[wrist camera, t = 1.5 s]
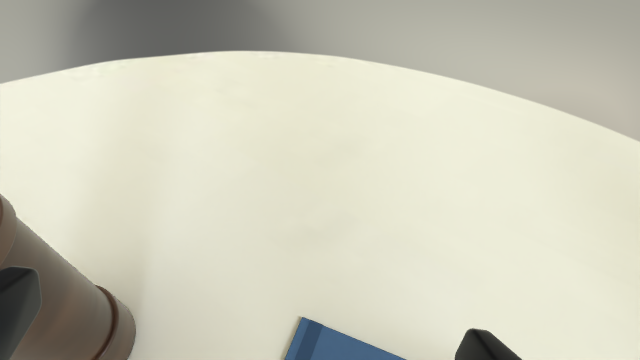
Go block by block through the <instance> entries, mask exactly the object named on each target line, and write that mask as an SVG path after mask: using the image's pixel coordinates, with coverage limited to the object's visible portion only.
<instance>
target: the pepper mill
mask: <svg viewBox="0 0 640 360" xmlns="http://www.w3.org/2000/svg"><path fill="white" fill-rule="evenodd" d="M10 266H21V267H28V268H34V269H36V270H37V272H38V274H39V280H40V288H41V296H42V304H41V308H40V311H39V313H38V315H37V316H36V318H35V320H34V321H33V323H32V324H31V326H30V328H29V329H28V331H27V332H26V334H25V336H24V337H23V339H22V341H21V342H20V344H19V345H18V347H17V349H16V350H15V352H14V353H13V355H12V357H11V358H10V360H127V358H128V356H129V354H130V352H131V350H132V347H133V344H134V340H135V322H134V319H133V316H132V314H131V313H130V311H129V310H128V309H127V308H126V307H125V306H124V305H123V304H122V303H121V302H120V301H119V300H117V299H116V298H115V297H114V296H113V295H112V294H111V293H110V292H108V291H107V290H106V289H104V288H102V287H100V286H97V285H94V284H93V283H92V282H90V281H89V280H88V279H87V278H86V277H85V276H84V275H82V274H81V273H80V272H79V271H78V270H77V269H76V268H74V267H73V266H72V265H71V264H70V263H69V262H68V261H66V260H65V259H64V258H63V257H62V256H61V255H60V254H58V253H57V252H56V251H55V250H54V249H53V248H52V247H50V246H49V245H48V244H47V243H46V242H45V241H44V240H42V239H41V238H40V237H39V236H38V235H37V234H35V233H34V232H33V231H32V230H31V229H30V228H29V227H27V226H26V225H25V224H24V223H23V222H22V221H21V220H19V219H18V218H17V217H16V213H15V210H14V208H13V206H12V205H11V204H10V202H9V201H8V200H7V199H6V198H5V197H3V196H2V195H1V194H0V270H2V269H5V268H7V267H10Z"/></svg>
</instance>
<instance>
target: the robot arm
mask: <svg viewBox="0 0 640 360" xmlns="http://www.w3.org/2000/svg"><path fill="white" fill-rule="evenodd" d="M41 304H42V296H41V288H40V280H39V274H38V272H37V270H36V269H34V268H28V267H21V266H10V267H7V268H5V269H2V270H0V360H10V358H11V357H12V355H13V353H14V352H15V350H16V349H17V347H18V345H19V344H20V342H21V341H22V339H23V337H24V336H25V334H26V332H27V331H28V329H29V328H30V326H31V324H32V323H33V321H34V320H35V318H36V316H37V315H38V313H39V311H40V308H41ZM455 360H522V359H521V358H520V357H518V356H517V355H516V354H515V353H514V352H513V351H511V350H510V349H509V348H508V347H507V346H506V345H504V344H503V343H502V342H501V341H500V340H499V339H497V338H496V337H495V336H494V335H493V334H492V333H490V332H489V331H486V330H481V329H473V328H472V329H469V330H468V331H467V332H466V334H465V336H464V338H463V340H462V342H461V344H460V346H459V348H458V350H457V352H456V355H455Z"/></svg>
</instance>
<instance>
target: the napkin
mask: <svg viewBox="0 0 640 360" xmlns="http://www.w3.org/2000/svg"><path fill="white" fill-rule="evenodd" d="M285 360H406V359H403V358H401V357H398V356H396V355H394V354H391V353H389V352H386V351H384V350H381V349H379V348H377V347H374V346H372V345H369V344H367V343H364V342H362V341H360V340H357V339H355V338H352V337H350V336H347V335H345V334H343V333H340V332H338V331H335V330H333V329H330V328H328V327H326V326H323V325H322V324H319V323H317V322H314V321H312V320H309V319H306V318H304V317H302V319H301V321H300V324H299V326H298V329H297V331H296V333H295V336H294V338H293V341H292V343H291V345H290V348H289V350H288V353H287V355H286V358H285Z"/></svg>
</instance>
